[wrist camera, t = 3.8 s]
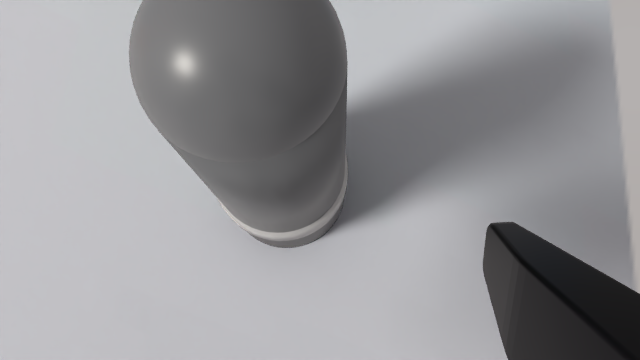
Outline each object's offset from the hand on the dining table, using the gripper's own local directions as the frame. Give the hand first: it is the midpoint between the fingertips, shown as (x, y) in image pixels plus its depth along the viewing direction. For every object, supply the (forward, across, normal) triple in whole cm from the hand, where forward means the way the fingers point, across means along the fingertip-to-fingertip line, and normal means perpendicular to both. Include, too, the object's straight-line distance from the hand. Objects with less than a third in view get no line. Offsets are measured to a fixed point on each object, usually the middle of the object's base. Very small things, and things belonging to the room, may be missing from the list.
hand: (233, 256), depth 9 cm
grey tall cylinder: (+11, 0, +5) cm, 12 cm away
